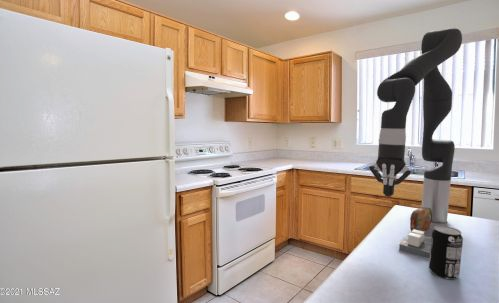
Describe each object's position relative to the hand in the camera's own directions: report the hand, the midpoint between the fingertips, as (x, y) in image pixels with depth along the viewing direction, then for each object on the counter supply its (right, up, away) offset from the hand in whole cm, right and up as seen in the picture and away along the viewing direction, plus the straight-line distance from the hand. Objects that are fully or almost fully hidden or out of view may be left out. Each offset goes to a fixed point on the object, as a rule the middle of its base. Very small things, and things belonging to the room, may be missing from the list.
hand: (388, 196), depth 89 cm
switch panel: (+10, -16, -3) cm, 20 cm away
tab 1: (+9, -14, -1) cm, 17 cm away
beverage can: (+6, -18, -17) cm, 25 cm away
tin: (+18, -15, +13) cm, 27 cm away
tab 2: (+6, -14, -4) cm, 16 cm away
